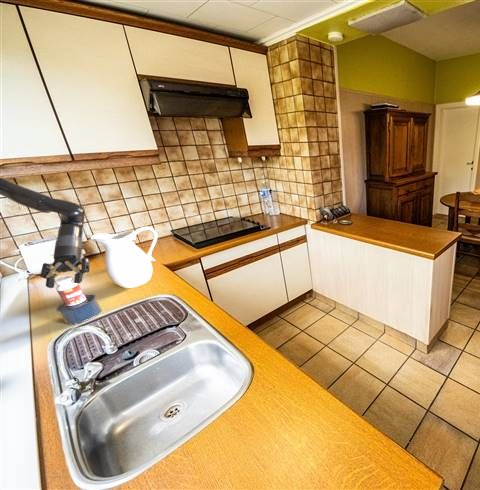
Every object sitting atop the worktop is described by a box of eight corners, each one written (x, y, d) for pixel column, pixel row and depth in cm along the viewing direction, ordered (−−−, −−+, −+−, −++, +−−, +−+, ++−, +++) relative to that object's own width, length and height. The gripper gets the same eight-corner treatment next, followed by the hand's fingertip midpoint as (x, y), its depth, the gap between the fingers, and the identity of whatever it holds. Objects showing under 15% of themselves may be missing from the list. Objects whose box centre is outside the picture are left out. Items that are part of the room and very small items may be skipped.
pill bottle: (71, 307, 106) (57, 284, 102) (62, 305, 108) (47, 282, 103) (90, 298, 111) (77, 276, 107) (81, 296, 113) (68, 274, 109)
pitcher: (115, 296, 126) (87, 242, 114) (115, 282, 137) (90, 232, 126) (174, 277, 140) (155, 228, 128) (170, 266, 151) (151, 220, 140)
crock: (62, 329, 105) (53, 315, 102) (67, 315, 113) (59, 302, 110) (101, 316, 111) (93, 302, 109) (104, 304, 120) (96, 291, 117)
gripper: (38, 247, 105) (31, 286, 100) (82, 241, 109) (78, 279, 104) (54, 254, 112) (49, 291, 107) (96, 248, 116) (93, 283, 110)
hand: (64, 285), depth 105 cm, fingers open, 8 cm apart
